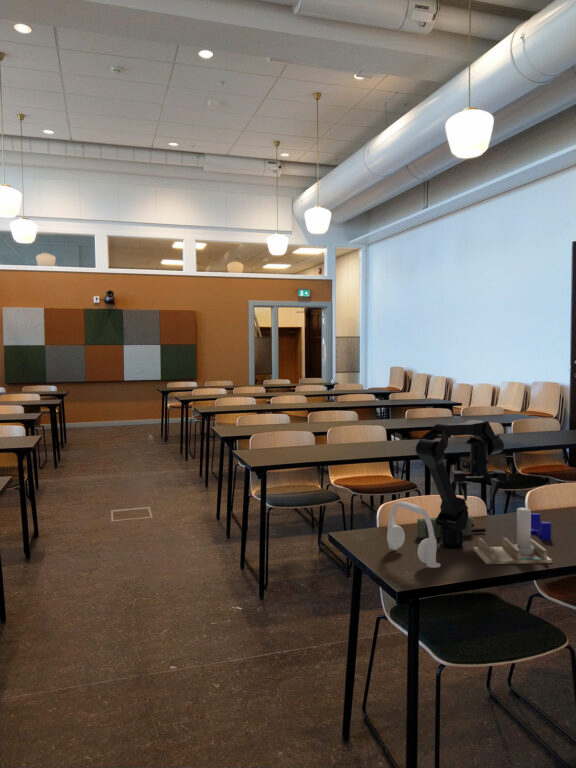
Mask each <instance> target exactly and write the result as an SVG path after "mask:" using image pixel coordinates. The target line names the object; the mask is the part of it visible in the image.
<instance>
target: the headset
mask: <svg viewBox="0 0 576 768" xmlns="http://www.w3.org/2000/svg"><path fill="white" fill-rule="evenodd" d="M399 507H400V508H401V509H403V510H408V511H410V512H412V513H415V514H418V515H422V516H423V519H425V521H426V524H427V527H428V532H429V538H423V540H421V541H420V543H419V545H418V547H417V556H418V558H419V560H420V561H421V562H422V563H426V567H428V568H433V569H434V568H440V567H441V563H439V562H437V559H436V558H437V557H436V556H437V555H436V554H437V551H438V549H437V548H438V547H437V537H435V536H434V531H433V526H432V523H431V520H430V518H431V517H430V516H429V514H428V512H427V510H425V509H424V508H422V507H420V506H419V505H417V504H414V503H411V502H408V501H398V502H396V503H395V504H393V507H392V508H391V511H390V515H389V521H388V523H387V534H386V540H387V541H386V542H387V544H388V548H389V549H390V550H395V551H397V550H398V549H400V548H401V547H402V546H403V544H404V543H405V538H406V534H405V531H404V529H403V528H402V526H400V525H397V523H396V522H395V517H396V512H397V510H398V508H399Z"/></svg>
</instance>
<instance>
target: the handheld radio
mask: <svg viewBox="0 0 576 768" xmlns="http://www.w3.org/2000/svg"><path fill="white" fill-rule="evenodd" d="M436 518H437V517H430V520H431V523H432V526H433V531H434V536H435V538H441V526H439V525H437V524H436ZM473 518H474V516H473V515H468V520H467V524H466V528H465V529H463V530H461V531H462V532H463V536H471V535H472V534H473V533H475V534H476V533H486V531H487V530H486V528H483V527H482V528H474V527H475V526H474V523H472V522H474V519H473ZM448 522H451V523H454V524H455V523H456V522H453V521H449V520H448ZM416 523H417V526H416V527H417V529H416V530H417V531H416V533H417V538H419V539H426V538H429V532H428V527H427V524H426V521H425V518H417V521H416ZM473 528H474V529H473Z"/></svg>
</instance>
